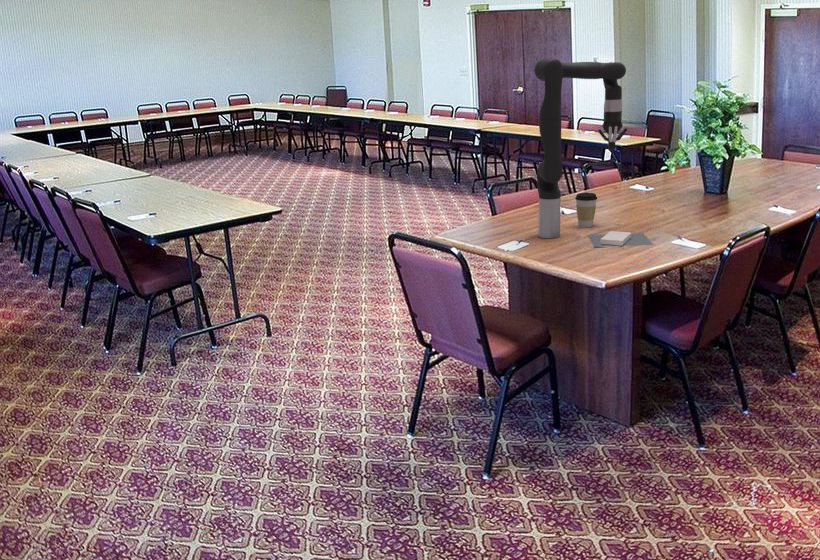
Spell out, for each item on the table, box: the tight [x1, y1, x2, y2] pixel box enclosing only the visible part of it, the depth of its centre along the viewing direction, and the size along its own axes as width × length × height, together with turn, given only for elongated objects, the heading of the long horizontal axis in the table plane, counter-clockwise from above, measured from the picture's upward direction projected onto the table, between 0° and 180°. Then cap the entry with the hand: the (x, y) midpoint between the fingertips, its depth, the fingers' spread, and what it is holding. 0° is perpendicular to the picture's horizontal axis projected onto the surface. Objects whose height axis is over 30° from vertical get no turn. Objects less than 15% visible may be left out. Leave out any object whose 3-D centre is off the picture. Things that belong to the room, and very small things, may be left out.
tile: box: [600, 230, 632, 247], centre depth 325 cm, size 2×9×15 cm
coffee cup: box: [574, 192, 598, 229], centre depth 353 cm, size 10×10×15 cm
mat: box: [587, 232, 655, 249], centre depth 327 cm, size 24×20×1 cm
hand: (611, 150), depth 340 cm, fingers closed
